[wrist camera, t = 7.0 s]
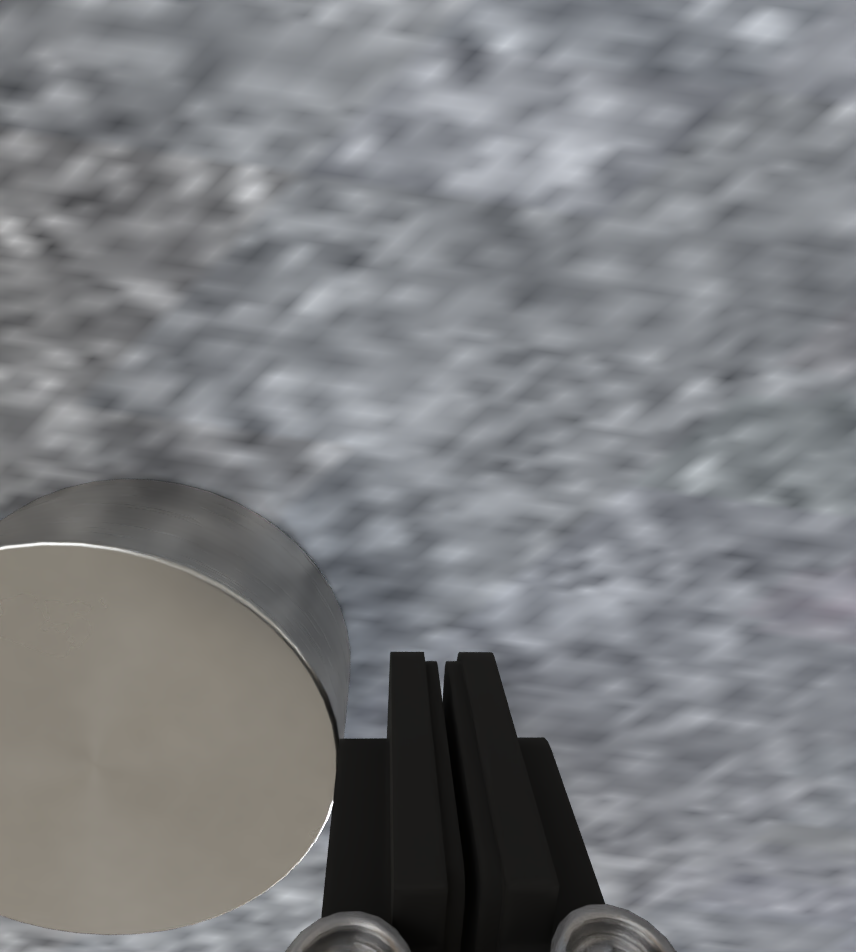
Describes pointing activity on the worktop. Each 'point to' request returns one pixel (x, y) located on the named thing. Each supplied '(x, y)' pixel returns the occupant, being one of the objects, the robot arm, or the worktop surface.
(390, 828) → the robot arm
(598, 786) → the worktop surface
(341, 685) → the brushed steel puck
